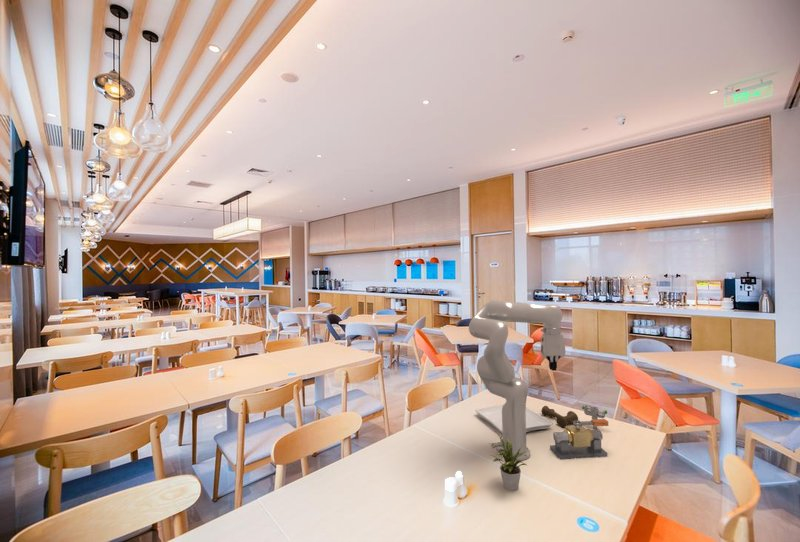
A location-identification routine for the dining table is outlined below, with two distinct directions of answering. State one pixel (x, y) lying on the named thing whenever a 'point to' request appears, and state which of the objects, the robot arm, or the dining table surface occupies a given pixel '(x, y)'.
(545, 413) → the kendama
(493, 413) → the square plate
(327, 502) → the dining table surface
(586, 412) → the mechanical component
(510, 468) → the house plant
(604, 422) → the lever
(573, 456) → the ball valve
